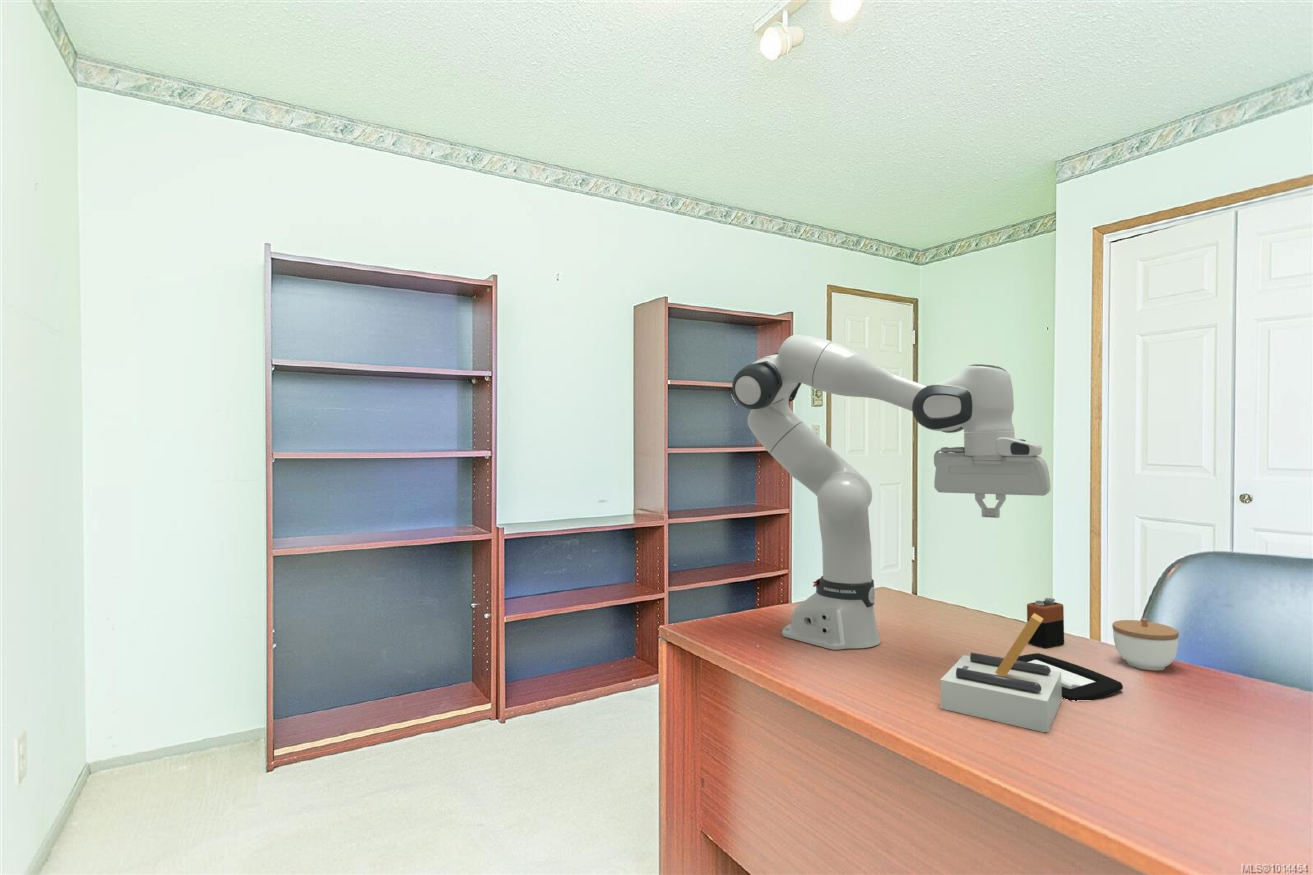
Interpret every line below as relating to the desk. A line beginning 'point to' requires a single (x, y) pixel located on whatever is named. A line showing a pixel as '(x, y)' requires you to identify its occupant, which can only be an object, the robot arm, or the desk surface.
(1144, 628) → the lidded jar
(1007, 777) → the desk surface
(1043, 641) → the battery
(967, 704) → the box
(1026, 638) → the lever
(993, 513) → the robot arm
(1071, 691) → the black picture frame
